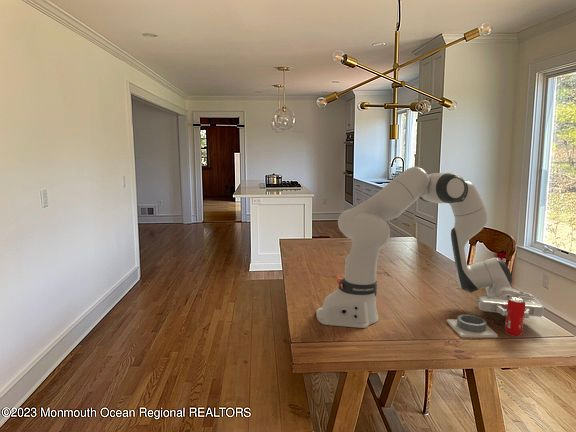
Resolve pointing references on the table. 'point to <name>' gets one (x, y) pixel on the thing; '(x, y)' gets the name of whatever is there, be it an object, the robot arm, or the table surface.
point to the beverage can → (515, 316)
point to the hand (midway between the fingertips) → (515, 314)
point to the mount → (471, 326)
